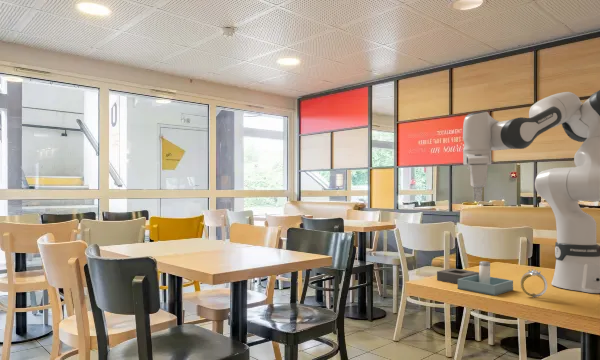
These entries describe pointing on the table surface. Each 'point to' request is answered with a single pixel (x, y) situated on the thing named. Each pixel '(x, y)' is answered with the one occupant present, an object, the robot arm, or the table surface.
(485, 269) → the cylinder
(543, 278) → the ring
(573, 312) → the table surface
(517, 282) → the table surface
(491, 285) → the tray
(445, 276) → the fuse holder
